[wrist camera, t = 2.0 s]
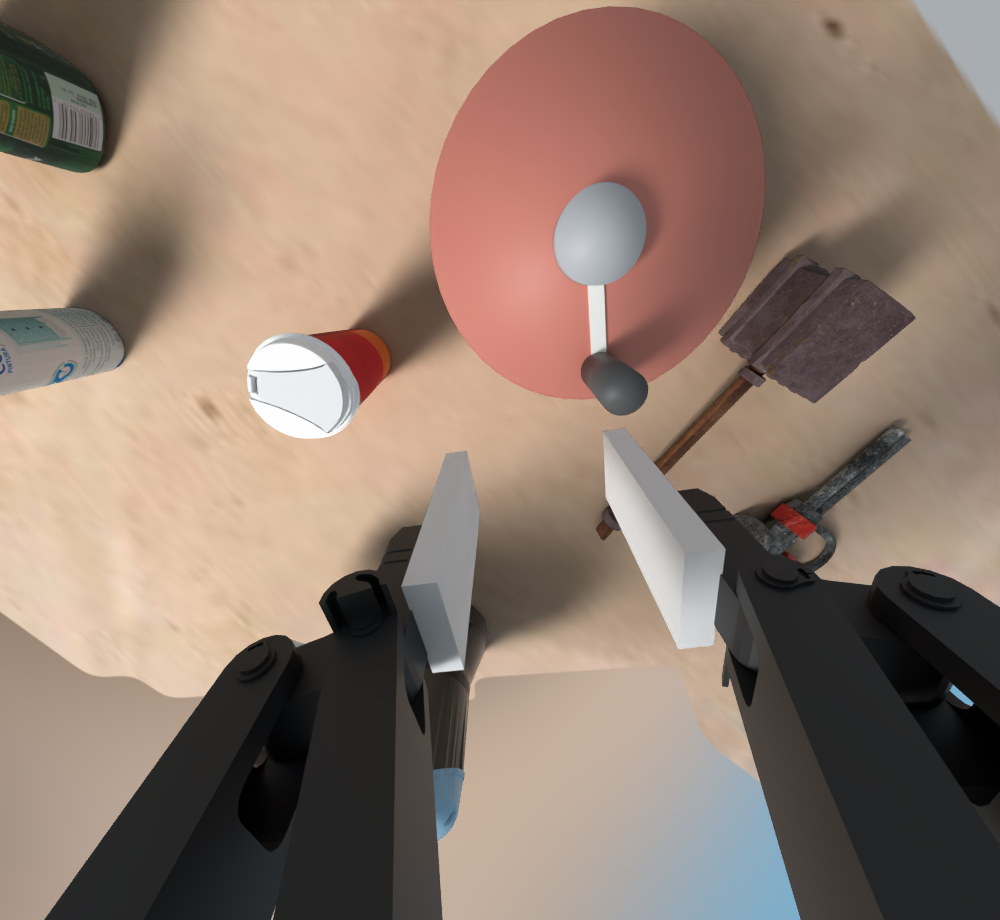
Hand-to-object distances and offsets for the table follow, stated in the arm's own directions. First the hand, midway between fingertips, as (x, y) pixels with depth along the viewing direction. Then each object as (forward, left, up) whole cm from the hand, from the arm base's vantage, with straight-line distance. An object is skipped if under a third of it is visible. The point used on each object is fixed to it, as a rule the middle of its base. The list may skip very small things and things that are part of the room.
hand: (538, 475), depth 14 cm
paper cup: (-16, +2, -27) cm, 31 cm away
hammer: (+17, -10, -27) cm, 34 cm away
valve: (+32, -26, -27) cm, 50 cm away
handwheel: (+5, +8, -18) cm, 21 cm away
